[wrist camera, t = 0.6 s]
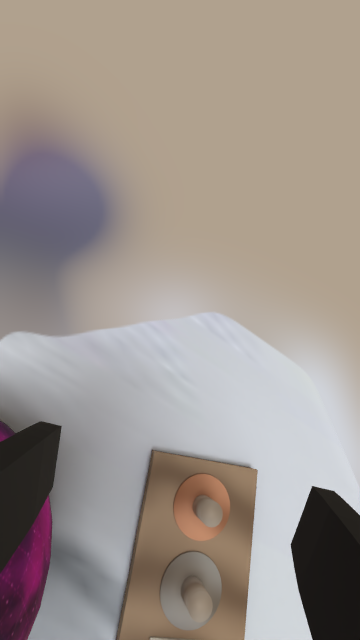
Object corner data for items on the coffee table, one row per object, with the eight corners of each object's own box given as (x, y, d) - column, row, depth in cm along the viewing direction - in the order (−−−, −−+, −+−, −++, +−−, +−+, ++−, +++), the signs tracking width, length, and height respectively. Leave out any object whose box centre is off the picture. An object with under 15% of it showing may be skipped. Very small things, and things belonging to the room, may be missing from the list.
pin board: (227, 738, 26) (251, 797, 22) (97, 735, 24) (96, 799, 20) (251, 467, 34) (272, 474, 29) (152, 450, 32) (160, 454, 28)
